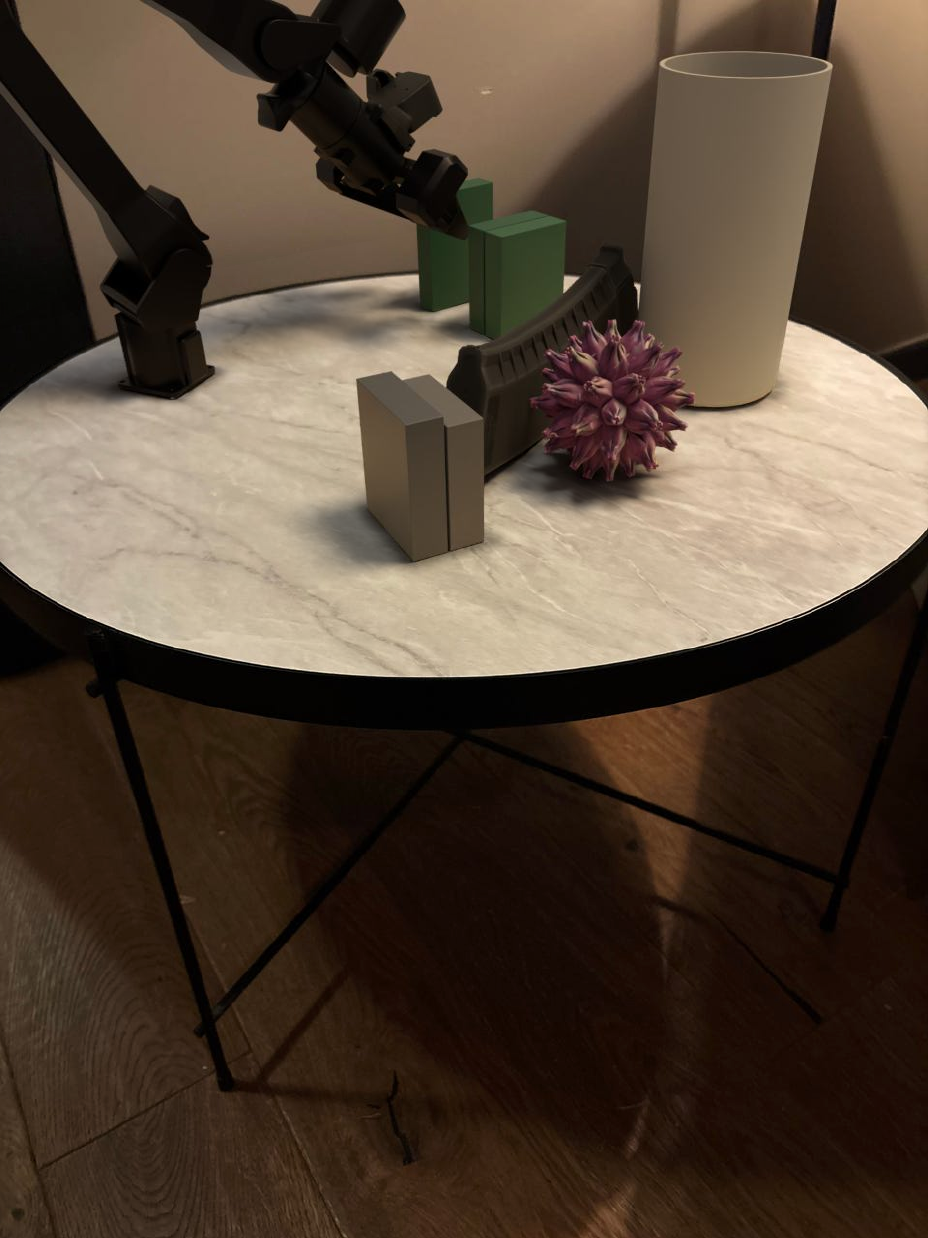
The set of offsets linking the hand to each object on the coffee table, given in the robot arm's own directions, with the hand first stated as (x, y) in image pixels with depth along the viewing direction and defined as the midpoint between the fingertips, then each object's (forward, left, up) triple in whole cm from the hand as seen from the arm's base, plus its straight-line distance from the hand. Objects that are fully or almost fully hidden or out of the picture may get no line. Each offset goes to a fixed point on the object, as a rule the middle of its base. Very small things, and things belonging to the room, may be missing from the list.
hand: (439, 225), depth 103 cm
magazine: (+19, -22, -8) cm, 30 cm away
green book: (+1, +2, -8) cm, 8 cm away
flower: (+27, -29, -8) cm, 40 cm away
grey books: (+17, -41, -8) cm, 45 cm away
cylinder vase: (+30, -10, -8) cm, 32 cm away
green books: (+9, -3, -8) cm, 13 cm away
